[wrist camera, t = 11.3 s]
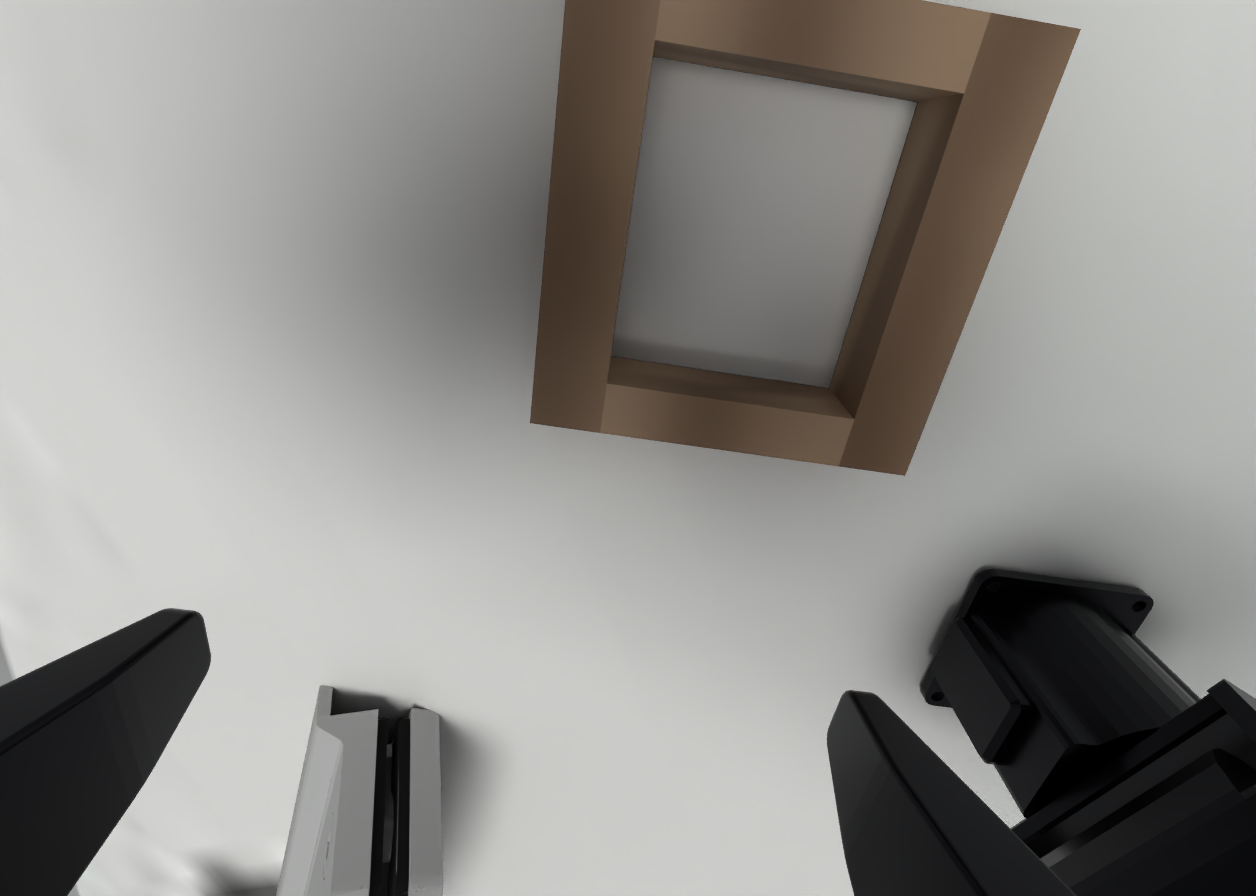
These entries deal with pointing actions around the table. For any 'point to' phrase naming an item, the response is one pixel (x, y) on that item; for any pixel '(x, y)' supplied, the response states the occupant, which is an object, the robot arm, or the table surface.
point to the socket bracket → (903, 249)
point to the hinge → (366, 808)
